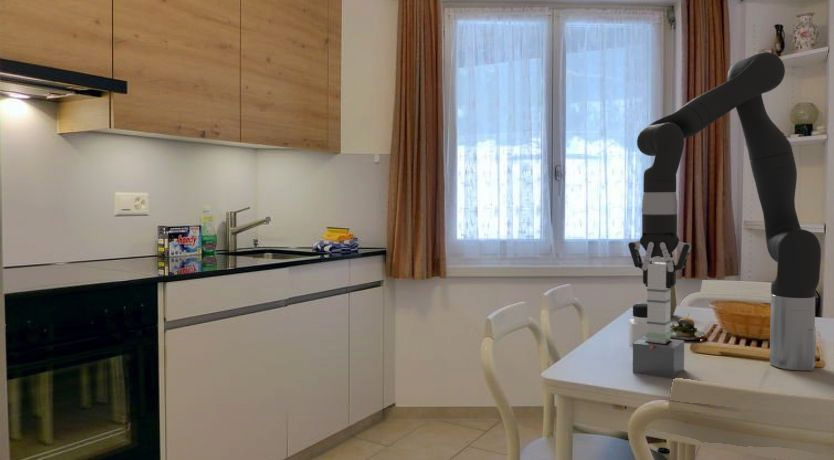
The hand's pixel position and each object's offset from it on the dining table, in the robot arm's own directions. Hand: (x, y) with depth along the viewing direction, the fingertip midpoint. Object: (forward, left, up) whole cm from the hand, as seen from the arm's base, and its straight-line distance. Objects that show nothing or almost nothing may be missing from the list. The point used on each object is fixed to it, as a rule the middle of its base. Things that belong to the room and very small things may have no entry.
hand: (659, 286), depth 147 cm
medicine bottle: (+11, -26, -21) cm, 35 cm away
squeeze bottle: (+19, -75, -21) cm, 80 cm away
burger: (+5, -44, -21) cm, 49 cm away
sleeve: (0, 0, -21) cm, 21 cm away
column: (0, 0, -13) cm, 13 cm away
